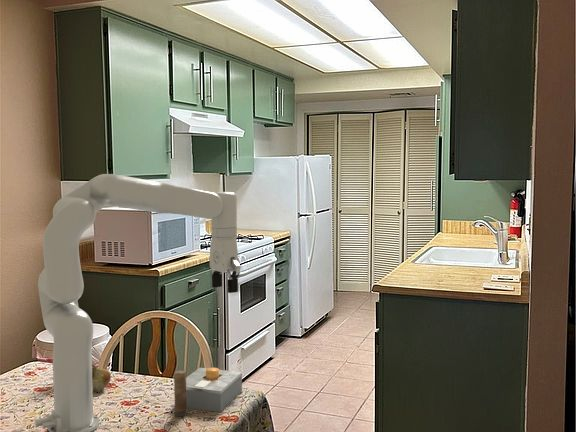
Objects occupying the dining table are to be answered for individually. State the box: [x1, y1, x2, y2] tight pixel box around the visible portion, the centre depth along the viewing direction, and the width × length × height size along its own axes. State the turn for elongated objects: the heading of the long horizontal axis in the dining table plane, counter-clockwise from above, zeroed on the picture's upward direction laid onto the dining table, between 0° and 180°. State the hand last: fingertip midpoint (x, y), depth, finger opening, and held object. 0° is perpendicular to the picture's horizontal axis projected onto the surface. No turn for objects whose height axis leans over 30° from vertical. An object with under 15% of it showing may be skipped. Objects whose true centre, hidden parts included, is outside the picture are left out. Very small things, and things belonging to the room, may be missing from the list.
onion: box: [92, 364, 112, 393], centre depth 179 cm, size 8×8×8 cm
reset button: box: [206, 367, 220, 380], centre depth 174 cm, size 4×4×4 cm
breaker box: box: [186, 367, 243, 413], centre depth 172 cm, size 16×14×6 cm
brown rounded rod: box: [173, 370, 188, 419], centre depth 160 cm, size 3×3×12 cm
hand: (224, 289), depth 177 cm, fingers open, 9 cm apart
